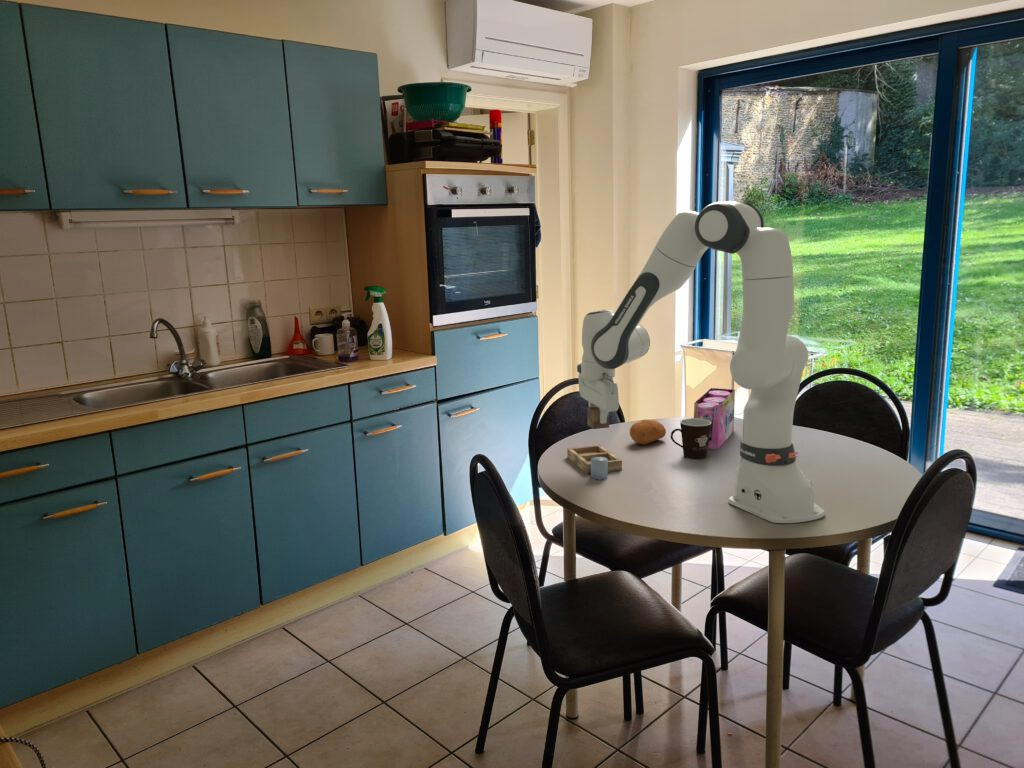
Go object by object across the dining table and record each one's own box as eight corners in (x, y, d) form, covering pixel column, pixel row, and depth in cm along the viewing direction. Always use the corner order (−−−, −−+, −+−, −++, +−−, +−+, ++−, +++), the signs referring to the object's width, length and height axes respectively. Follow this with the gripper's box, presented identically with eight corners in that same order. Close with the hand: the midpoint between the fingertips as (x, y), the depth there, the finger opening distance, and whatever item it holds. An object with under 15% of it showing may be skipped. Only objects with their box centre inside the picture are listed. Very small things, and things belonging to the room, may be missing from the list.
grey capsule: (610, 479, 202) (610, 460, 201) (594, 480, 201) (594, 462, 200) (603, 474, 207) (603, 456, 206) (588, 475, 206) (588, 457, 204)
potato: (623, 443, 234) (624, 420, 233) (655, 436, 241) (655, 414, 240) (639, 448, 228) (640, 425, 227) (671, 441, 235) (671, 418, 234)
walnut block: (609, 427, 208) (609, 409, 207) (593, 429, 207) (593, 411, 206) (602, 423, 212) (602, 405, 211) (587, 425, 211) (587, 407, 210)
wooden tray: (621, 470, 209) (622, 460, 209) (587, 474, 207) (587, 464, 206) (599, 453, 224) (599, 444, 224) (567, 457, 222) (567, 448, 221)
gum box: (717, 451, 224) (718, 406, 221) (690, 448, 227) (691, 403, 224) (734, 431, 245) (735, 389, 242) (709, 428, 248) (710, 387, 245)
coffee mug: (708, 451, 224) (709, 418, 221) (712, 460, 215) (713, 426, 213) (667, 451, 225) (668, 418, 223) (670, 460, 216) (671, 426, 214)
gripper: (625, 376, 197) (624, 428, 200) (595, 363, 217) (595, 410, 220) (602, 378, 196) (602, 431, 199) (574, 364, 215) (574, 412, 218)
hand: (598, 420), depth 209 cm, fingers closed on walnut block, 4 cm apart
